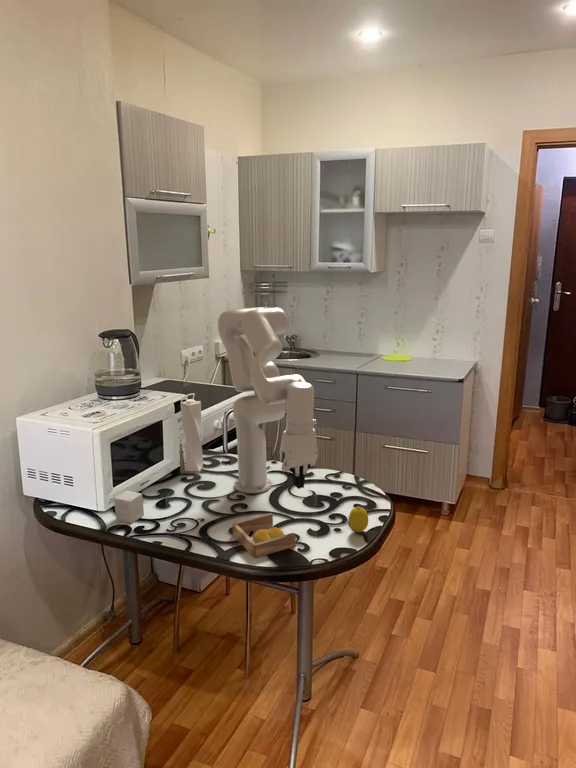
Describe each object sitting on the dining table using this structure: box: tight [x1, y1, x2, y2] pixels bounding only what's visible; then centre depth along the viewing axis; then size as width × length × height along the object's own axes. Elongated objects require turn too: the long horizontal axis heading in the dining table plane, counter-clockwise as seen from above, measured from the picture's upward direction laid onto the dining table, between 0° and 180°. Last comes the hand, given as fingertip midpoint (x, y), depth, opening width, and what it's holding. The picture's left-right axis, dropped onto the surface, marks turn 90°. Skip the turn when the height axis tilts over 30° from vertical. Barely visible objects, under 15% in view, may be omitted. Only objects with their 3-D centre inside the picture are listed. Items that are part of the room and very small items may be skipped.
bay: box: [231, 512, 297, 559], centre depth 164 cm, size 14×12×4 cm
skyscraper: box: [178, 393, 204, 475], centre depth 212 cm, size 8×8×28 cm
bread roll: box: [252, 526, 285, 543], centre depth 163 cm, size 8×9×4 cm
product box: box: [113, 490, 145, 524], centre depth 178 cm, size 6×6×7 cm
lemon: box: [348, 506, 369, 534], centre depth 167 cm, size 6×6×8 cm
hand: (298, 486), depth 168 cm, fingers closed
